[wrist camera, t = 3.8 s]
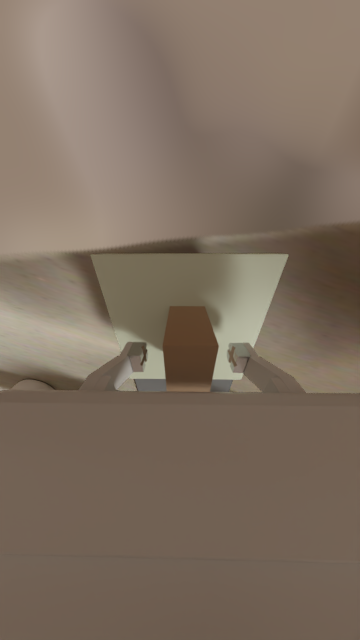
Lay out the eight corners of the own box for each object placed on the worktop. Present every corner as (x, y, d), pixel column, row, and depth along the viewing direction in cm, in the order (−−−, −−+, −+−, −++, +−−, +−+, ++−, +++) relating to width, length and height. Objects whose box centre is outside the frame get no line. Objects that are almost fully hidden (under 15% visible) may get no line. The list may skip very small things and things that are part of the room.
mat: (240, 351, 23) (241, 353, 23) (224, 400, 31) (225, 402, 31) (128, 350, 23) (127, 353, 23) (141, 399, 32) (141, 401, 31)
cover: (279, 253, 10) (384, 264, 5) (238, 372, 17) (262, 428, 12) (97, 253, 10) (10, 264, 5) (132, 371, 17) (110, 427, 12)
